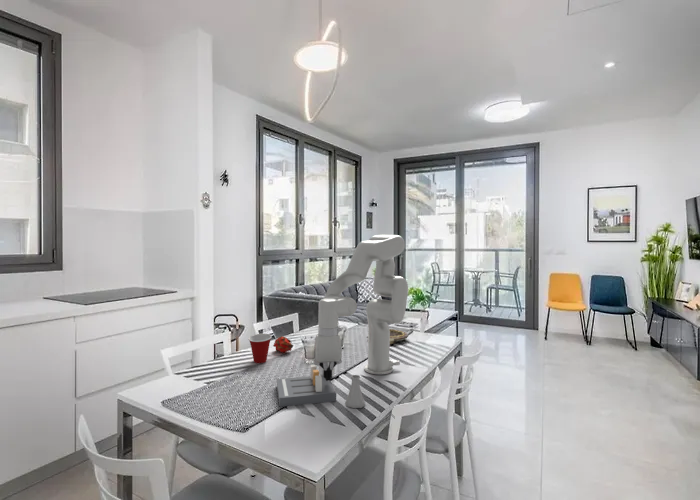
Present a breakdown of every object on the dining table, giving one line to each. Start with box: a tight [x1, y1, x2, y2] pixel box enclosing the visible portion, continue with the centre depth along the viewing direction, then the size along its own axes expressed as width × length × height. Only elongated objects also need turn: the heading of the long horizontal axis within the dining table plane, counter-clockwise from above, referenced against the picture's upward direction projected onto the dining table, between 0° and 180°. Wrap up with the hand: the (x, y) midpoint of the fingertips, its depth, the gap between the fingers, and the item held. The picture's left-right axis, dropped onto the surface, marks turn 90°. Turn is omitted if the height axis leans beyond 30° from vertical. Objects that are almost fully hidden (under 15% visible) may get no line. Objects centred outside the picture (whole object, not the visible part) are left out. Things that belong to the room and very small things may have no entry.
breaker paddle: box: [313, 369, 319, 386], centre depth 141 cm, size 2×2×5 cm
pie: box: [366, 328, 409, 345], centre depth 217 cm, size 28×27×5 cm
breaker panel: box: [276, 364, 337, 408], centre depth 140 cm, size 20×18×8 cm
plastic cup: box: [248, 333, 273, 364], centre depth 175 cm, size 11×11×12 cm
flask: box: [344, 374, 366, 409], centre depth 131 cm, size 7×7×10 cm
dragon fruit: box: [272, 336, 294, 355], centre depth 191 cm, size 8×8×12 cm
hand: (327, 379), depth 142 cm, fingers closed
